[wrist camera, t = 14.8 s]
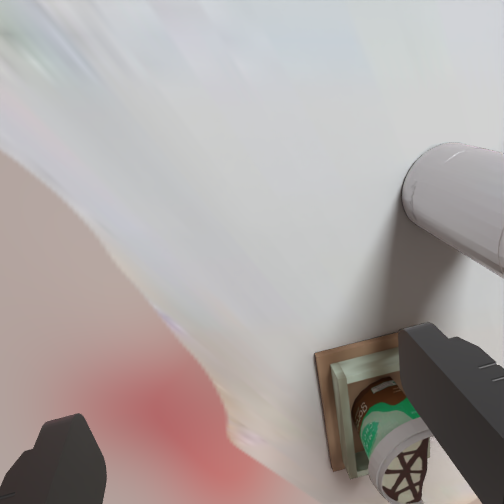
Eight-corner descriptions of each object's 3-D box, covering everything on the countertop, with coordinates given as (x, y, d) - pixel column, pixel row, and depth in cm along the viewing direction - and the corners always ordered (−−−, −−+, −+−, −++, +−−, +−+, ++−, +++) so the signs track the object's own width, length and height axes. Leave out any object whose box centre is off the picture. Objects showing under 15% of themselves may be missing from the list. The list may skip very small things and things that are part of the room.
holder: (425, 325, 49) (442, 342, 46) (426, 441, 57) (440, 462, 54) (314, 353, 48) (323, 372, 45) (331, 466, 56) (340, 489, 53)
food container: (343, 374, 49) (379, 441, 40) (391, 366, 50) (437, 430, 40) (341, 447, 54) (373, 522, 45) (385, 439, 54) (425, 511, 45)
